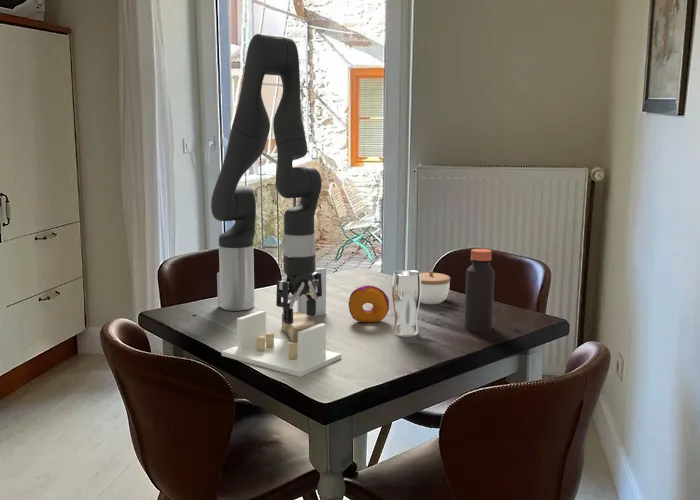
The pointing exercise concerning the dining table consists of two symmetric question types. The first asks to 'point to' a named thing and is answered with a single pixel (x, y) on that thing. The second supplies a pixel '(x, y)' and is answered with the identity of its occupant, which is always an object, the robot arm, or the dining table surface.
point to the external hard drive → (320, 300)
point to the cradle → (280, 347)
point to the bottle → (479, 292)
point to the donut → (368, 296)
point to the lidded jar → (434, 287)
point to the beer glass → (406, 301)
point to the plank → (297, 325)
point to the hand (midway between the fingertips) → (300, 319)
